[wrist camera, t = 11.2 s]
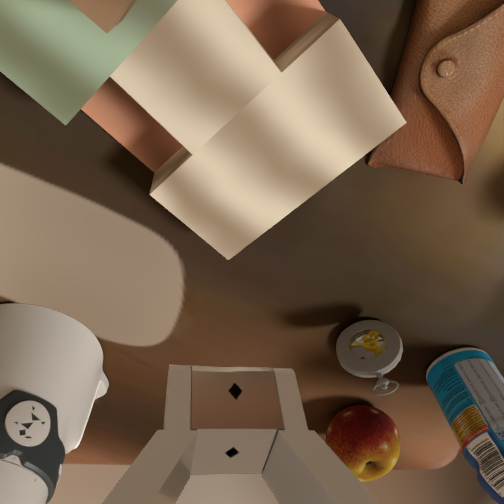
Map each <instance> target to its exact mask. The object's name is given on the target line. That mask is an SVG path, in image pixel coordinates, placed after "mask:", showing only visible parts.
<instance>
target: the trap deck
mask: <svg viewBox="0 0 504 504" xmlns="http://www.w3.org/2000/svg"><path fill="white" fill-rule="evenodd" d="M0 72H2V73H3V74H4V75H5V76H6V77H8V78H9V79H10V80H11V81H13V82H14V83H15V84H16V85H17V86H19V87H20V88H21V89H22V90H23V91H25V92H26V93H27V94H28V95H29V96H31V97H32V98H33V99H34V100H35V101H37V102H38V103H39V104H40V105H42V106H43V107H44V108H45V109H46V110H48V111H49V112H50V113H51V114H52V115H54V116H55V117H56V118H57V119H58V120H60V121H61V122H62V123H63V124H65V125H67V124H68V122H69V121H70V120H71V119H72V118H73V117H74V116H75V115H76V114H77V112H78V111H79V110H80V109H81V110H82V111H84V112H85V113H86V114H87V115H88V116H89V117H91V118H92V119H93V120H94V121H95V122H96V123H97V124H99V125H100V126H101V127H102V128H103V129H104V130H106V131H107V132H108V133H109V134H110V135H111V136H112V137H114V138H115V139H116V140H117V141H118V142H119V143H121V144H122V145H123V146H124V147H125V148H126V149H127V150H129V151H130V152H131V153H132V154H133V155H134V156H136V157H137V158H138V159H139V160H140V161H141V162H142V163H144V164H145V165H146V166H147V167H148V168H149V169H151V170H152V171H153V172H154V177H153V181H152V186H151V190H150V194H149V195H150V196H152V197H153V198H154V199H155V200H156V201H158V202H159V203H160V204H161V205H162V206H164V207H165V208H166V209H167V210H169V211H170V212H171V213H172V214H173V215H175V216H176V217H177V218H178V219H179V220H181V221H182V222H183V223H184V224H185V225H187V226H188V227H189V228H190V229H192V230H193V231H194V232H195V233H196V234H198V235H199V236H200V237H201V238H202V239H204V240H205V241H206V242H207V243H208V244H210V245H211V246H212V247H213V248H214V249H216V250H217V251H218V252H219V253H221V254H222V255H223V256H224V257H225V258H227V259H228V260H229V259H230V258H232V257H233V256H234V255H236V254H237V253H238V252H240V251H241V250H242V249H243V248H245V247H246V246H247V245H249V244H250V243H251V242H253V241H254V240H255V239H256V238H258V237H259V236H260V235H262V234H263V233H264V232H266V231H267V230H268V229H269V228H271V227H272V226H273V225H275V224H276V223H277V222H278V221H280V220H281V219H282V218H284V217H285V216H286V215H288V214H289V213H290V212H291V211H293V210H294V209H295V208H297V207H298V206H299V205H301V204H302V203H303V202H304V201H306V200H307V199H308V198H310V197H311V196H312V195H314V194H315V193H316V192H317V191H319V190H320V189H321V188H323V187H324V186H325V185H326V184H328V183H329V182H330V181H332V180H333V179H334V178H336V177H337V176H338V175H339V174H341V173H342V172H343V171H345V170H346V169H347V168H349V167H350V166H351V165H352V164H354V163H355V162H356V161H358V160H359V159H360V158H362V157H363V156H364V155H365V154H367V153H368V152H369V151H371V150H372V149H373V148H374V147H376V146H377V145H378V144H380V143H381V142H382V141H384V140H385V139H386V138H387V137H389V136H390V135H391V134H393V133H394V132H395V131H397V130H398V129H399V128H400V127H402V126H403V125H404V124H406V123H407V122H406V121H405V119H404V118H403V116H402V115H401V113H400V112H399V110H398V108H397V107H396V105H395V104H394V102H393V101H392V99H391V98H390V96H389V94H388V93H387V91H386V90H385V88H384V87H383V85H382V84H381V82H380V80H379V79H378V77H377V76H376V74H375V73H374V71H373V70H372V68H371V66H370V65H369V63H368V62H367V60H366V59H365V57H364V56H363V54H362V52H361V51H360V49H359V48H358V46H357V45H356V43H355V42H354V40H353V38H352V37H351V35H350V34H349V32H348V31H347V29H346V28H345V26H344V24H343V23H342V21H341V20H340V19H339V18H337V17H335V16H333V15H331V14H329V13H327V12H325V10H324V9H323V7H322V6H321V4H320V3H319V1H318V0H136V2H135V3H134V5H133V6H132V8H131V9H130V11H129V12H128V14H127V15H126V17H125V18H124V19H123V20H122V21H121V22H120V23H119V24H118V25H116V26H115V27H114V28H113V29H112V30H111V31H109V32H108V33H106V32H105V31H103V30H102V29H101V28H100V27H99V26H98V25H96V24H95V23H94V22H93V21H92V20H91V19H89V18H88V17H87V16H86V15H85V14H84V13H82V12H81V11H80V10H79V9H78V8H77V7H76V6H74V5H73V4H72V3H71V2H70V1H69V0H0Z"/></svg>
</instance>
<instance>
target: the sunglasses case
mask: <svg viewBox="0 0 504 504" xmlns="http://www.w3.org/2000/svg"><path fill="white" fill-rule="evenodd" d="M503 97H504V0H416V5H415V10H414V13H413V17H412V20H411V24H410V28H409V31H408V35H407V39H406V43H405V46H404V50H403V53H402V57H401V61H400V64H399V69H398V72H397V75H396V78H395V82H394V85H393V88H392V92H391V95H390V98H391V99H392V101H393V102H394V104H395V105H396V107H397V108H398V110H399V112H400V113H401V115H402V116H403V118H404V119H405V121H406V122H407V123H406V124H404V125H403V126H402V127H400V128H399V129H398V130H397V131H395V132H394V133H393V134H391V135H390V136H389V137H387V138H386V139H385V140H384V141H382V142H381V143H380V144H378V145H377V146H376V147H374V148H373V149H372V150H371V153H370V156H369V159H368V166H370V167H372V168H375V167H382V166H384V167H395V168H399V169H405V170H410V171H414V172H418V173H423V174H427V175H433V176H437V177H441V178H447V179H452V180H455V181H459V182H460V183H461V184H464V183H465V182H466V179H467V176H468V173H469V171H470V169H471V166H472V164H473V162H474V160H475V158H476V156H477V154H478V152H479V150H480V148H481V146H482V144H483V142H484V140H485V138H486V135H487V133H488V131H489V129H490V127H491V124H492V122H493V120H494V118H495V116H496V113H497V111H498V109H499V106H500V104H501V102H502V100H503Z"/></svg>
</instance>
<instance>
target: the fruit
mask: <svg viewBox="0 0 504 504" xmlns="http://www.w3.org/2000/svg"><path fill="white" fill-rule="evenodd" d="M326 444H327V445H328V446H329V447H330V448H331V450H332V451H333V452H334V453H335V454H336V455H337V456H338V457H339V459H340V460H341V461H342V462H343V463H344V464H345V465H346V466H347V467H348V469H349V470H350V471H351V472H352V473H353V474H354V475H355V476H356V477H357V479H358V480H359V481H371V480H375V479H378V478H380V477H382V476H384V475H385V474H387V473H388V472H389V471H390V470H391V469H392V468H393V467H394V465H395V464H396V462H397V460H398V458H399V454H400V436H399V432H398V429H397V427H396V425H395V423H394V422H393V420H392V419H391V418H390V417H389V416H388V415H387V414H385V413H384V412H382V411H381V410H379V409H377V408H374V407H371V406H366V405H354V406H350V407H347V408H345V409H343V410H341V411H340V412H338V413H337V414H336V415H335V416H334V417H333V419H332V420H331V421H330V423H329V425H328V429H327V432H326Z"/></svg>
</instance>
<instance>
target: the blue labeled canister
mask: <svg viewBox="0 0 504 504" xmlns="http://www.w3.org/2000/svg"><path fill="white" fill-rule="evenodd" d="M426 380H427V383H428V385H429V387H430V388H431V390H432V392H433V394H434V395H435V397H436V399H437V401H438V403H439V405H440V407H441V409H442V411H443V413H444V415H445V417H446V419H447V421H448V423H449V425H450V427H451V429H452V431H453V433H454V435H455V437H456V439H457V441H458V443H459V445H460V447H461V449H462V453H463V456H464V458H465V459H466V461H467V463H468V464H469V465H470V466H471V467H472V468H474V469H475V470H476V471H477V479H478V482H479V484H480V486H481V487H482V488H483V489H484V491H485V492H486V493H487V494H488V495H489V496H490V497H491V498H492V499H493V500H495V501H496V502H497V503H499V504H504V378H503V377H502V375H501V374H500V373H499V371H498V369H497V368H496V366H495V364H494V362H493V361H492V359H491V358H490V356H489V355H488V354H487V353H486V352H484V351H483V350H481V349H478V348H472V347H465V348H459V349H455V350H452V351H449V352H447V353H445V354H443V355H441V356H440V357H438V358H437V359H436V360H434V361H433V362H432V364H431V365H430V366H429V368H428V370H427V373H426Z"/></svg>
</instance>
